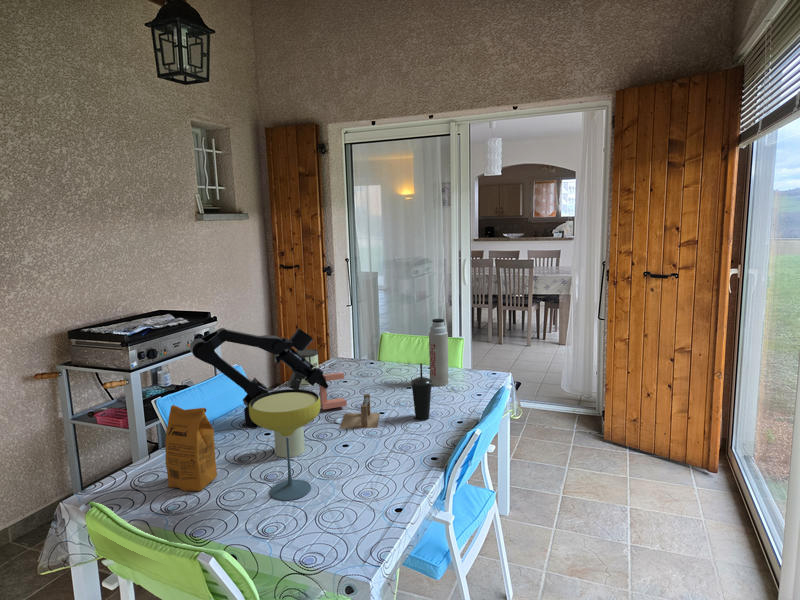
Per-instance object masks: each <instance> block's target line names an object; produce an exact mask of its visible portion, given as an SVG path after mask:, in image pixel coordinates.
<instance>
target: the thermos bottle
mask: <svg viewBox="0 0 800 600" xmlns="http://www.w3.org/2000/svg"><path fill="white" fill-rule="evenodd" d="M431 322H432V323H431V324H432V325H431V326H429V332H428V348H429V349H428V353H429V355H428V356H429V379H431V380H432V385H431V386H433V387H444V386H448V385H449V335H448V333H449V332H448V331H447V327H446V326H445V323H444V322H445V320H444V319H443V318H434V319H432V321H431Z"/></svg>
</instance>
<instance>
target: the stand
mask: <svg viewBox="0 0 800 600" xmlns="http://www.w3.org/2000/svg"><path fill="white" fill-rule="evenodd" d="M380 416H381V412H372V411H371V394H370V393H364V394H363V402H362V404H361V405H360V412H355V413H354V412H353V413H351V412H350V413H348V412H347V413H344V415H343V417H342V420H341V423H340V425H339V427H338V428H339V430H340V429H378V428H379V427H378V426H379V424H380V423H379V422H380Z"/></svg>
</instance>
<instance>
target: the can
mask: <svg viewBox="0 0 800 600" xmlns="http://www.w3.org/2000/svg"><path fill="white" fill-rule="evenodd" d="M273 432H274V433H273V434H274V435H273V436H274V454H275V455H276V456H277V457H280V458H282V459H283V458H284V459H285V458H286V459H287V445H286V438H284V437H283V436H282V435H281V434H280V433H279V432H277V431H273ZM304 432H305V429H304V426H302V427H300V428H298V429H296V430H295V431H294V432H293V434H292V435H291V436H290V437H289V454H290V458H295V457H299V456H302V454H304V453H305V452H306V447H305V433H304Z"/></svg>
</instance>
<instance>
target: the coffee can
mask: <svg viewBox="0 0 800 600" xmlns="http://www.w3.org/2000/svg"><path fill="white" fill-rule="evenodd" d="M295 351H296V352H297V353H298V354H300V355H301V356H302V357H304V358H305V359H306V360H307V361H308V362H309V363H310V364H312V365H313V366H314V367H313V368H319V369H320V366H319V365H320V364H319V351H318V350H317V349H314V348H312V349H311V348H308V349H305V350H304V351H301V350H300V352H299V351H298V350H295ZM313 368H312V369H313ZM313 386H317V385H316V383H315V384H314V385H313ZM299 387H312V385H311V384H309V383H308V382H307V381H305V379H302V380H301V383H300V386H299Z"/></svg>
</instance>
